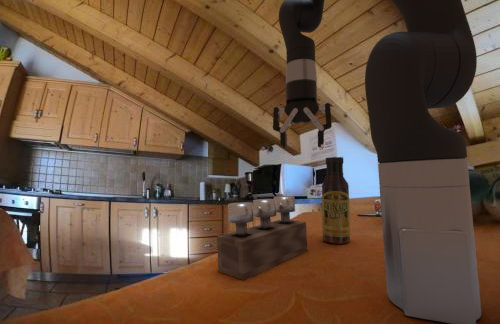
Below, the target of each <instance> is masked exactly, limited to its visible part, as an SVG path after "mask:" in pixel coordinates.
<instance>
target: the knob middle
mask: <svg viewBox="0 0 500 324" xmlns="http://www.w3.org/2000/svg"><path fill="white" fill-rule="evenodd" d="M252 203H253V218H259V223H260V224H259V225H260V228H261V230H266V231H267V230H270V229H271V222H272V221H271V218H273V217H276V216H277V212H276V200H275V199H274V198H259V199H253V200H252Z"/></svg>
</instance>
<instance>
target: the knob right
mask: <svg viewBox="0 0 500 324" xmlns="http://www.w3.org/2000/svg"><path fill="white" fill-rule="evenodd" d="M273 199H275V200H276V213H280V214H279V215H280V216H279V217H280V219H279V220H281V224H286V225H287V224H290V220H291V217H290V216H291V214H290V213H294V212H296V202H295V201H296V199H295V196H294V195H280V196H274V197H273Z"/></svg>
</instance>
